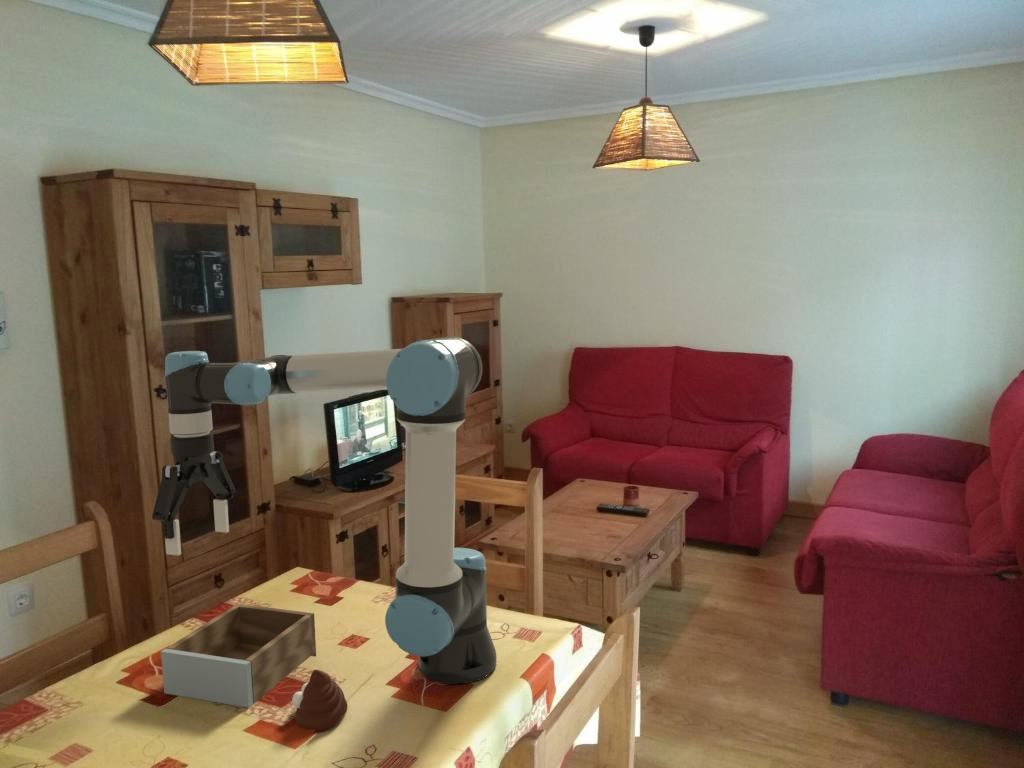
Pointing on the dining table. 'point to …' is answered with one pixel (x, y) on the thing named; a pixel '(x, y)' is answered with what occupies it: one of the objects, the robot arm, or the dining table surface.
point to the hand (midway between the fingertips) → (199, 542)
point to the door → (207, 677)
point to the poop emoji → (319, 703)
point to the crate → (257, 641)
